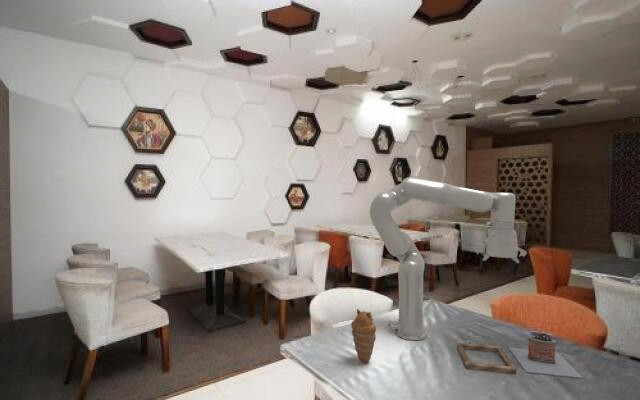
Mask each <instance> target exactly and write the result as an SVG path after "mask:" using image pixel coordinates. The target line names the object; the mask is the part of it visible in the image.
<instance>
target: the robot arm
mask: <svg viewBox="0 0 640 400" xmlns="http://www.w3.org/2000/svg"><path fill="white" fill-rule="evenodd" d="M411 200H417V201H421V202H422V201H423V202H427V203H431V204H437V205H440V206H448V207H453V208H458V209H461V210H467V211H472V212H476V213H477V212H478V213H486V212H488V211H490V221H486V223H485V224H486V225H485V226H488V227H489V228H488V229H487V233H486V236H485V243H482V244H480V245H477V246H476V247H475V246H474V250H475V252H476V254H477V256H478V257H479V258H480V259H481V269H482V270H483V272H487V271H488V264H489V263H488V259H489V258H490V257H492V258H501V259H502V258H503V259H504V258H505V259H511V260H512V261H511V264H510V272H511V273H512V274H514V275H516V274H517V272H518V266H519V263H520V262H521V261H522V260H524V259H525V257H526V255H527V254H528V251H526V250H524V248H523V249H522V248H521V247H519V245H518V235H517V231H516V230H515V229H514V228H515V227H514V226H515V213H516V212H515V211H516V195H515V194H514V193H512V192H498V191H497V192H489V191H484V190H483V191H482V190H476V189H472V188H471V189H470V188H466V187H460V186H456V185H452V184H450V183H445V182H441V181H435V180H431V179H425V178H418V177H412V176H409V177H406V178H404V179H403V180H402V181H401V183H399V184H397V185H395V186H394V187H393V188H391V189H389V190H387V191H382V192H380V193H378V194H377V195H376V196H375V197H374V199H372V202H371V204H370V207H369V216H370V220H371V222H372V225H373V226H374V228H375V230H376V232H377V233H378V235H379V237H380V239H381V241H382V243H383V244H384V246H385V248H386V249H387V252H388V253H389V254H390V255H391V256H393V257H396V258H397V259H398V261H399V262H400V263H399V266H398V271H397V272H398V274H397V275H398V276H397V277H398V319H397V320H395V321H393V320H392V321H390V320H387V326H388V327H390V329H394V333H395V335H396V336H398V337H400V338H401V339H404V340H408V341H421V340H424V339H425V338H427V331H426V329H424V326H423V325H424V323H423V322H424V320H423V319H424V318H423V317H424V272H425V260H424V258H423V256H422V254H421V253H420V251H419V249H418V248H417V245H416V244H415V243H414V240H413V239H412V238H411V235H409V234H408V233H406V232H404V231H402V230H401V229H400V227H399V226H398V224H397V221H396V220H395V219H394V218H393V216H392V211H394V210H396V209H397V208H399V207H402V206H403V205H406V204H407V203H408V202H410V201H411ZM483 249H484V253H483V254H482V251H481V250H483ZM518 252H520V254H519V255H518Z"/></svg>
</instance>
